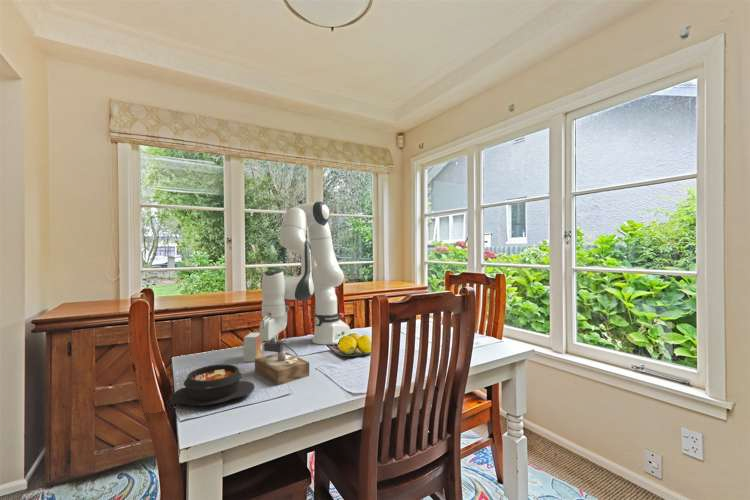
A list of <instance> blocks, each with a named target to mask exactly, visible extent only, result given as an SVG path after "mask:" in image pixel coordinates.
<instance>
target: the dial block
mask: <svg viewBox="0 0 750 500" xmlns="http://www.w3.org/2000/svg"><path fill="white" fill-rule="evenodd" d="M285 358H286V359H295V360H297V361H291V360H284V361H278V352H276V353H274V354H270V355H265V356H262V357H261V358H257V359H255V361H254V373H256V374H258V375H259V376H261V377H263V378H264V379H267V380H268V381H269V382H272V383H273V384H275V385H276V386H280V385H284V384H287V383H291V382H293V381H296V380H300V379H302V378H306V377H309V376H310V362H309V361H307V360H305V359H304V358H303V359H302V358H300V357H298V356H295V355H294V354H292V353H291V354H290V353H289V352H287V351H285Z"/></svg>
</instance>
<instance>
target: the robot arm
mask: <svg viewBox="0 0 750 500" xmlns="http://www.w3.org/2000/svg"><path fill="white" fill-rule="evenodd" d="M330 216H331V211H330V208H329V206H328V204H327V203H326V202H324V201H313V202H305V203H301V204H298V205H293V206H290V207H288V209H287V210H286V211H285V213H284V216H283V217H282V218H283V219H282V220H281V224H280V225H281V226H280V231H279V236H278V237H279V242H280V244H281V245H282V246H283V248H285V250H288V251H290V252H292V253H295V254H297V255H299V256H300V259H301V260H300V267H301V268H300V270H301V271H300V275H298V276H297V275H296V276H295V275H294V276H293V275H285V274H284V270H282V269H279V268H273V269H268V270H266V271H264V272H263V275H262V280H261V296H262V302H261V317H263V319H262V320H261V321H260V323H259V332H258V333H259V338H260V341H263V342H267V341H268V342H277V341H278V338H279V334H280V333H281V332H282V331H284V330H285V329H286V328H287V326H288V312H289V306H288V305H286V301H285V300H294V301H295V300H296V301H302V302H306V301H308V300H309V299H310V298H311V297H312V296H313V295H314V298H315V299H314V300H315V301H314V302H315V313H314V332H313V337H312V343H314V344H317V345H335V344H337V345H339V344H338V341H339V339H340V338H341V337H343V336H345V335H348V334H350V333H351V329H350V326H349V325H348V324H347V323H346V322H344V321H343V320H341V318H344V316H345V314H344V313H343V312H342V313H341V312H338V296H337V294H336V291H335V288H337V287H339V286H341V284H342V283H343V282H344V279H345V275H344V271H343V270H342V269H341V267H340V265H339V262H338V259H337V256H336V255H335V250H334V246H333V245H334V244H333V238H332V232H331V228H330V224H329V223H328V222H329V220H330ZM307 228H308V238H309V241H308V240H307V238H306V234H307ZM313 260H314V261H315V264H316V265H314V266H313Z"/></svg>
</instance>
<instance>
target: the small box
mask: <svg viewBox="0 0 750 500" xmlns="http://www.w3.org/2000/svg"><path fill="white" fill-rule="evenodd" d="M259 333H260V332H250V333H248V334H247V335H245V336H243V362H255V359H257V358H261V357H264V356H263V355H264V353H263V351H264V343H263V342H264V341H260V338H259Z"/></svg>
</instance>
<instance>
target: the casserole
mask: <svg viewBox="0 0 750 500" xmlns="http://www.w3.org/2000/svg"><path fill="white" fill-rule="evenodd" d="M241 378H242V372H241V371H240V370H239V368H238V366H236V365H232V364H212V365H208V366H204V367H203V366H202V367H200V368H197V369H194V370H192V371H191V372H189V373H188V374H187V376H186V379H185V380H184V382H183V386H184V387H181V388H180V389H179V388H178V390H176V391H175V392H173V393H172V394H171V395H170V397H169V399H168V401H169V402H170V404H173V405H189V406H199V407H202V406H212V405H218V404H221V403H224V402H228V401H231V400H235V399H239V398H243V397H246V396H248V395H250V394H251V393H253V391H254V389H255V384H254V383H253V382H252V381H248V380H240V379H241Z"/></svg>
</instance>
